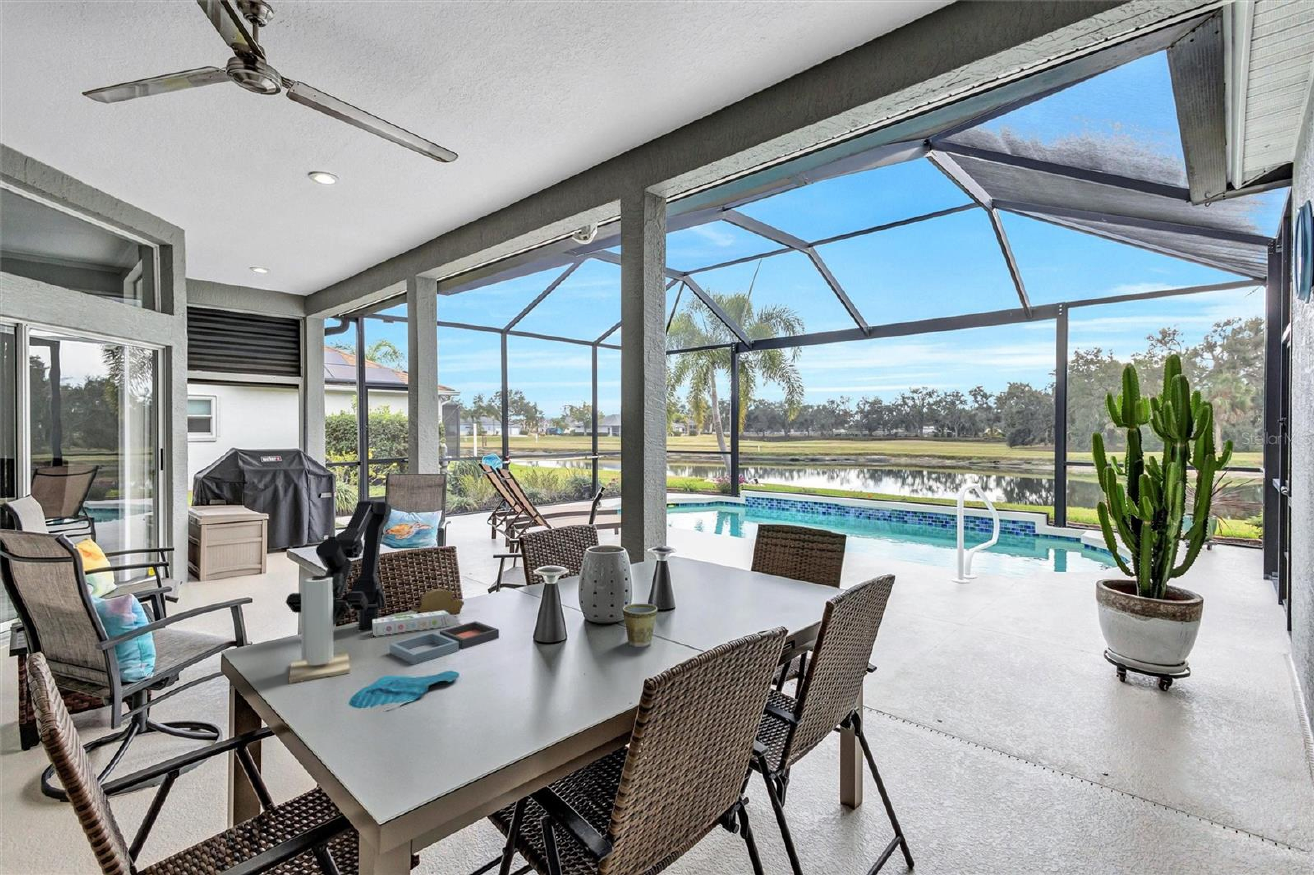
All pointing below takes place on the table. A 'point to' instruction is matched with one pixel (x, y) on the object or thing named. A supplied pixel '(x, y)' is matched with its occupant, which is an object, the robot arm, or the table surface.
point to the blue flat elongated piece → (397, 689)
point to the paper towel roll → (317, 620)
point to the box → (413, 622)
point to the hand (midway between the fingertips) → (318, 632)
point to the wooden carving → (438, 602)
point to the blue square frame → (445, 648)
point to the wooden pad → (319, 668)
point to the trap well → (471, 634)
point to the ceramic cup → (639, 623)
